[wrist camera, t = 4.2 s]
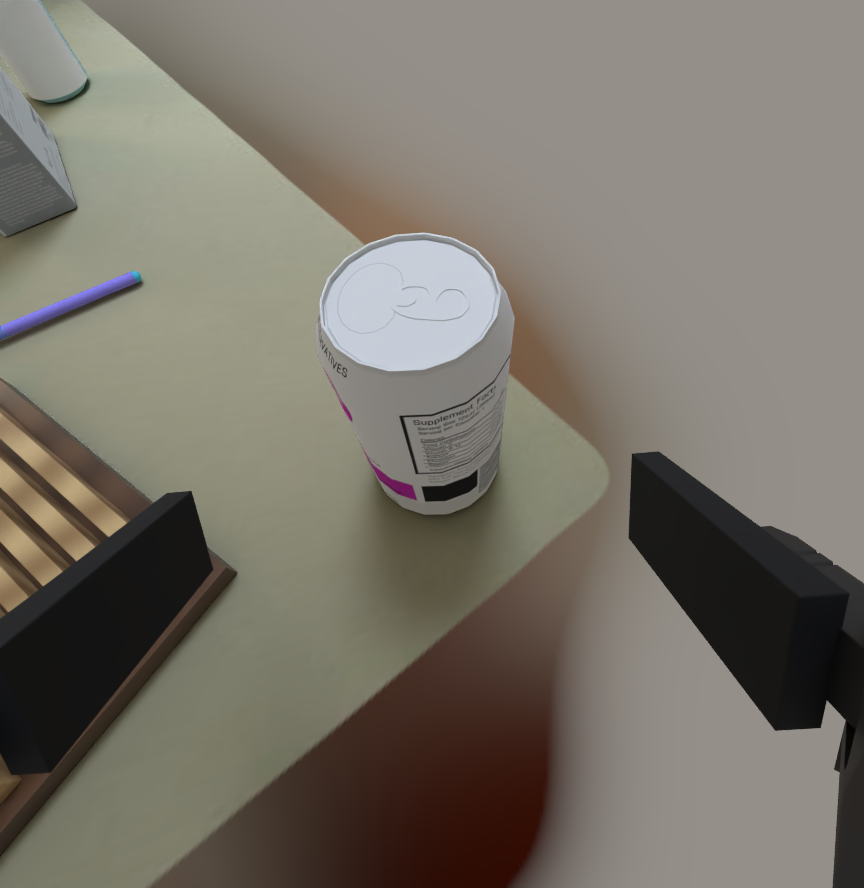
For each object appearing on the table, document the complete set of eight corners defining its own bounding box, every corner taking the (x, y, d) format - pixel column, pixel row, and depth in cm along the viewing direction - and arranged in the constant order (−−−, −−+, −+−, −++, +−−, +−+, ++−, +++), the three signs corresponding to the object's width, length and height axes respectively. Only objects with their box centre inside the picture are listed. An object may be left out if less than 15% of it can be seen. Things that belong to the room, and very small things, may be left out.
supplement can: (363, 509, 30) (275, 374, 17) (390, 400, 34) (335, 217, 20) (490, 527, 29) (503, 398, 16) (504, 413, 32) (525, 227, 19)
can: (34, 112, 56) (-71, -22, 45) (33, 84, 59) (-65, -48, 48) (93, 95, 56) (4, -42, 46) (89, 68, 59) (5, -66, 49)
